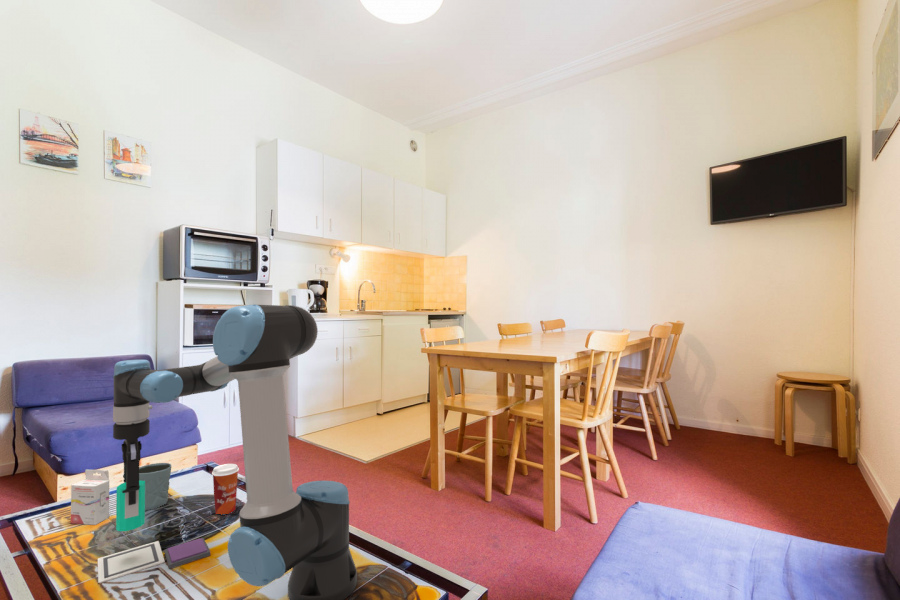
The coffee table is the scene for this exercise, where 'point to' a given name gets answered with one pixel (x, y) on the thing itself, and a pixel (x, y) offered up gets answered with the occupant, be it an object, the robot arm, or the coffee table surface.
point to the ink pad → (186, 552)
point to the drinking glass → (155, 484)
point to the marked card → (129, 561)
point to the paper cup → (225, 488)
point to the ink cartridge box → (90, 498)
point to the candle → (121, 522)
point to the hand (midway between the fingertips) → (130, 512)
